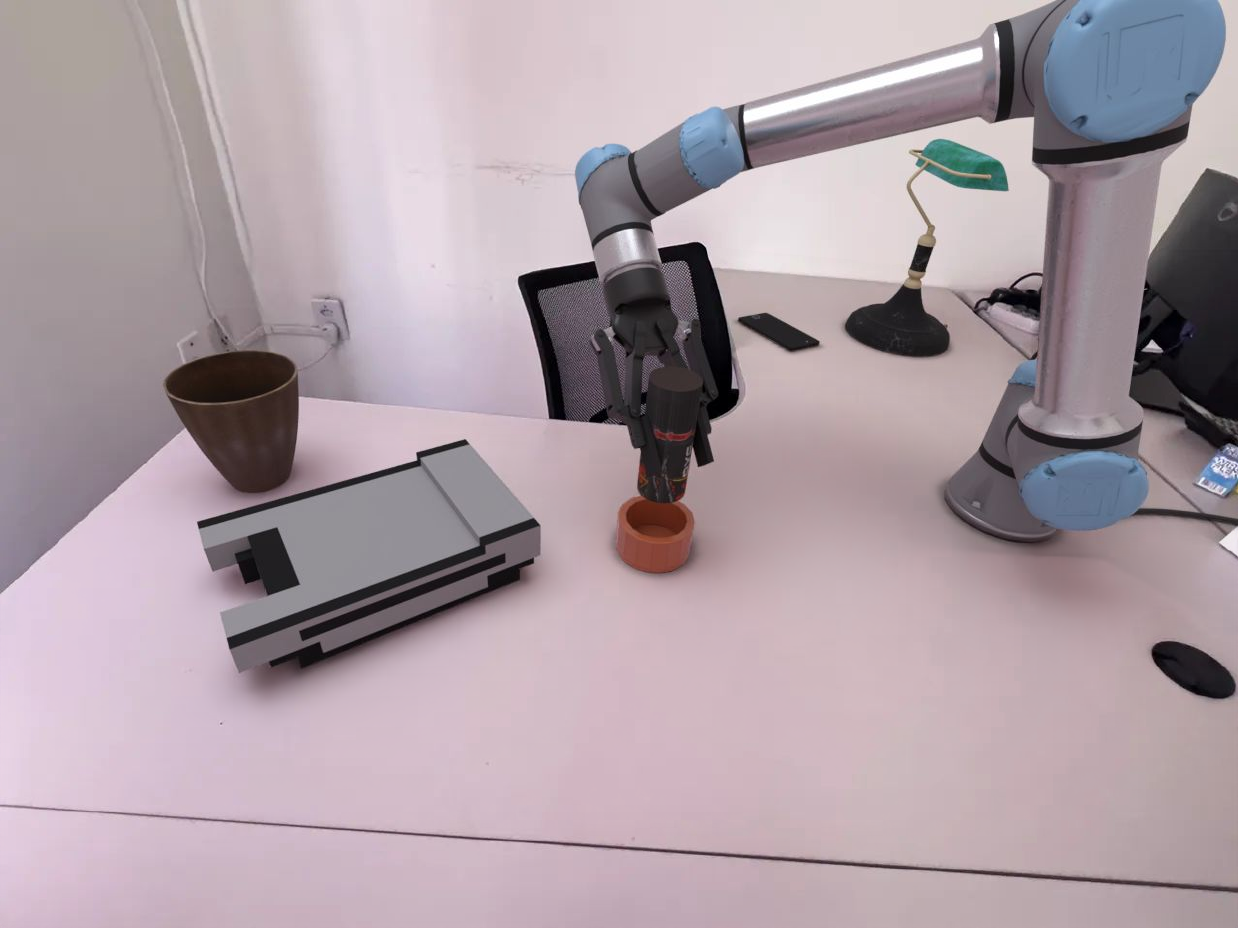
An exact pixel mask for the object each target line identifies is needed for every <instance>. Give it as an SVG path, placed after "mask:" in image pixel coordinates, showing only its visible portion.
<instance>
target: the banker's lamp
mask: <svg viewBox="0 0 1238 928" xmlns="http://www.w3.org/2000/svg"><path fill="white" fill-rule="evenodd" d="M908 154H909V155H912V156H913V157H915V158H917V160H916V162H915V166H916V167H918V168H919V169H917V171H915V172H914V173H913V174H912V175H911V176H910V177H909V179H908V181H907V182H906V190H907V193H908V195H909V197H910V199H911V200H912V202H913V204H914V205H915V207H916V209H917V211H918V212H919V214H920V216H921V217H922V219H923V221H924V223H925V224H926V226H927V229H926V232H925V234H922V235H920V236H919V237H918V239H917V243H916V244H917V245H916V248H915V251H914V253H913V257H912V260H911V263H910V266H909V267H908V270H907V275H908V277H907V278H906V279H905V280H904V282H903V284H902V285H901V286H900V288H898V289H897V291H896V292H895V293H894V295H893V296H891V297H890V299H888V300H887V301H885V302H884V303H883V302H881V303H871V304H868V305H865V306H861V307H859V308H857V309H856V310H854V311H852V312H851V313H850V315H849V316H848V318H847V319H846V322H845V323H844V325H845V326H844V328H845V331H846V332H847V333H848V334H849V336H850V337H851V338H853V339H854V340H856V341H858V342H859V343H861V344H863V345H864V346H868V347H870V348H871V349H876V350H877V351H878V350H879V351H881V352H885V353H888V354H893V355H898V356H904V357H913V358H914V357H915V358H918V357H919V358H925V357H934V356H939V355H941V354H943V353H945V352H946V351H947V350H948V348H949V346H950V341H951V340H950V339H951V335H950V332H949V331H948V327H949V326H948V324H944V323H942V322H941V321H940V320H939V319H938V318H937V317H935V316H934V315H932V314H930V313H928V312H926V310H925V306H924V303H923V296H922V283H923V281H922V280H921V279H923V278H924V277H925V276H926V273H927V267H928V265H929V262H930V259H931V256H932V253H933V252H934V251H933V250H934V247H935V246H936V244H937V239H936V236H934V232H935V230H936V226H935V225H934V224H932V223H931V221H930V219H929V217H928V216H927V213H926V212H925V211H924V209H923V207H922V205H921V204H920V201H919V200H918V199H917V196H916V195H915V193H914V192H913V189H912V183H913V181H914V180H915V179H916V178H918V176H919V175H920V174H921V173H922V172H924V171H925V172H927V173H929V174H931V175H933V176H935V177H937V178H939V179H940V180H942V181H944V182H946V183H948V184H950V185H952V186H955V187H957V188H961V189H970V190H981V191H995V192H1009V191H1010V188H1009V181H1008V176H1007V173H1006V172H1007V171H1006V169H1005V167H1004V164H1003V163H1002V162H1001V161H1000V160H999V159H996V158H995V157H993V156H991V155H989V154H986V153H983V152H981V151H978V150H976V149H973V148H971V147H969V146H966V145H963V144H960V143H958V142H956V141H953V140H950V139H945V138H936V139H933V140H930V141H929V142H928V144H927V145H926V146H925V147H924V149H910V150H908Z"/></svg>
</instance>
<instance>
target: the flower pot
mask: <svg viewBox="0 0 1238 928" xmlns="http://www.w3.org/2000/svg"><path fill="white" fill-rule="evenodd" d="M298 373H299V372H298V366H297V363H296V362H295V361H294V360H293V359H291V358H290V357H288V356H286V355H284V354H282V353H278V352H273V351H268V350H257V349H255V350H254V349H247V350H246V349H244V350H230V351H223V352H218V353H213V354H208V355H205V356H201V357H198V358H195V359H192V360H190V361H187V362H185V363H183V364H181V365H179V366H177V367H175V368H174V369H173V370H172V371H171V372H169V374H167V375H166V377H165V378H164V380H163V383H162V389H163V391H164V393H165V394H166V397H167V399H168V400H169V402H170V404H171V406H172V408H173V409H174V411H175V413H176V415H177V416H178V418H179V419H180V421H181V423H182V425H183V426H184V427H185V429H186V431H187V432H188V433H189V435H190V437H191V438H192V440H193V441H194V442H195V444H196V446H198V448H199V449H200V451H201V453H203V455H204V456H205V457H206V458H207V459H208V461H209V462H210V464H211V465H212V466H213V467H214V468H215V470H216V471H218V473H219V474H220V475H221V476H222V477H223V478H224V479H225V480H226V481H227V483H228V484H229V485H230V486H232V488H234V489H235V490H237V491H239V492H242V493H249V494H251V493H252V494H255V493H263V492H268V491H271V490H274V489H276V488H278V487H280V486H282V485H283V484H285V483H286V482H287V481H288V480H289V478H290V476H291V473H292V469H293V464H294V461H295V460H294V459H295V453H296V448H297V440H298V432H299V431H298V430H299V416H300V396H299V395H300V392H299V391H300V390H299V374H298Z"/></svg>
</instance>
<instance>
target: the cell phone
mask: <svg viewBox="0 0 1238 928" xmlns="http://www.w3.org/2000/svg"><path fill="white" fill-rule="evenodd" d="M737 322H738V323H740V324H742V325H744V326H746V327H748V328H749V329H751V330H752V331H755V332H756V333H757V334H759V335H761V336H763V337H765V338H766V339H768V340H770V341H772V342H773V343H775V344H777V345H778V346H780V347H782V348H784V349H786V350H787V351H788V352H796V351H800V350H805V349H809V348H814V347H818V346H819V345H820V340H819V339H817V338H815V337H813V336H811V335H809V334H807V333H806V332H803V331H802V330H800V329H798V328H797V327H794V326H793V325H791V324H789V323H787V322H785V321H783V320H781V319H780V318H778V317H776V316H774V315H773V314H770V313H768V312H761V313H755V314H750V315H745V316H739V317H738V318H737Z"/></svg>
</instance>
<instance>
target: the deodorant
mask: <svg viewBox="0 0 1238 928" xmlns="http://www.w3.org/2000/svg"><path fill="white" fill-rule="evenodd" d="M647 381H648V382H647V392H646V398H645V399H646V400H645V408H644V409H645V410H644V416H649V420H650V424H651V428H652V432H653V436H654V440H655V444H656V448H657V452H658V456H659V460H660V464H661V468H662V473H659V474H657V475H655V476H652V477H648V478H647V475H646V471H645V467H644V463H643V459H642V455H641V453H640V455H639V464H638V473H637V483H636V490H637V492H638V493H639V496H643V497H644V498H645V499H648V500H650V501H652V502H656V503H673V502H676V501H680V500H681V499H683V498H684V496H685V495H686V491H687V483H688V478H689V471H690V465H691V459H692V453H693V441H694V435H695V429H696V423H697V417H698V411H699V404H700V398H701V392H702V386H703V379H702V378H701V376H700V375H699V374H697V373H696V372H694V371H692V370H690V368H689V369H686V368H681V367H674V366H668V367H665V366H661V367H656V368H655V369H653V370H652V371H650V372H649V374H648V380H647Z"/></svg>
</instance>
